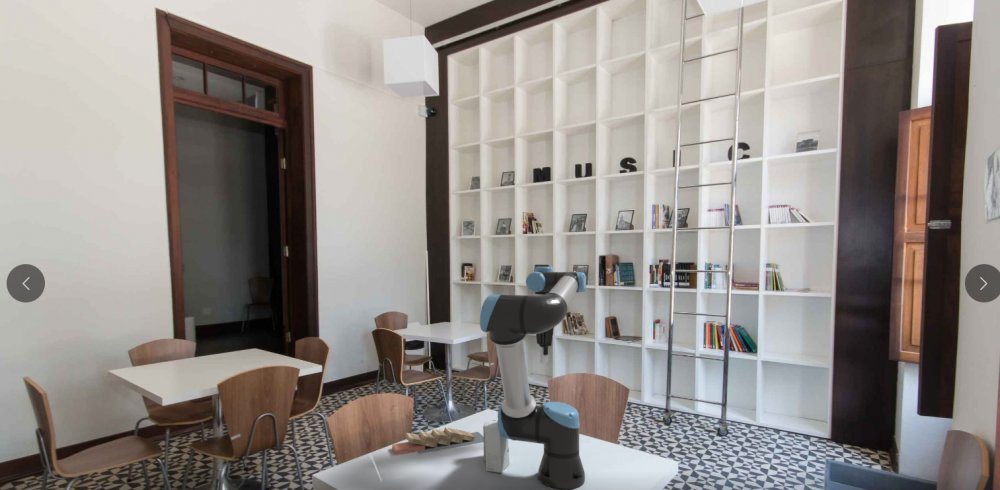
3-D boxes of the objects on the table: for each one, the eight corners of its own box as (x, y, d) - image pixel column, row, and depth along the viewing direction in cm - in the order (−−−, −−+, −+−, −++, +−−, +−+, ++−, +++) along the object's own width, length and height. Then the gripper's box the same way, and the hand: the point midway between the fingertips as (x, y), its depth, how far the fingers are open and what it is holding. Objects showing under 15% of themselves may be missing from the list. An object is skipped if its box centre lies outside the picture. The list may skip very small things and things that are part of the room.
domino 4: (457, 433, 178) (432, 428, 174) (462, 439, 173) (437, 434, 168) (456, 437, 178) (431, 433, 173) (461, 443, 172) (435, 438, 168)
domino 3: (445, 435, 176) (420, 430, 172) (450, 441, 170) (424, 436, 166) (444, 439, 176) (418, 434, 171) (449, 445, 170) (423, 440, 166)
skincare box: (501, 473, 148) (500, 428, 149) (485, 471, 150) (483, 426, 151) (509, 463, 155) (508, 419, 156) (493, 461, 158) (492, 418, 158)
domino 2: (432, 437, 174) (406, 432, 169) (437, 443, 168) (410, 438, 164) (431, 441, 173) (405, 436, 169) (436, 447, 168) (409, 442, 164)
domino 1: (420, 439, 172) (392, 444, 167) (425, 445, 166) (395, 450, 161) (420, 444, 171) (392, 448, 167) (424, 449, 166) (395, 455, 161)
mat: (478, 432, 184) (478, 431, 184) (488, 442, 175) (488, 441, 175) (411, 443, 173) (411, 442, 173) (419, 454, 163) (419, 453, 163)
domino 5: (469, 431, 180) (445, 427, 176) (474, 437, 175) (449, 432, 170) (468, 435, 180) (443, 431, 176) (473, 441, 174) (448, 436, 170)
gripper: (560, 305, 176) (560, 365, 175) (543, 302, 188) (543, 358, 187) (544, 306, 173) (544, 367, 172) (528, 303, 185) (528, 360, 184)
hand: (544, 362), depth 179 cm, fingers closed
